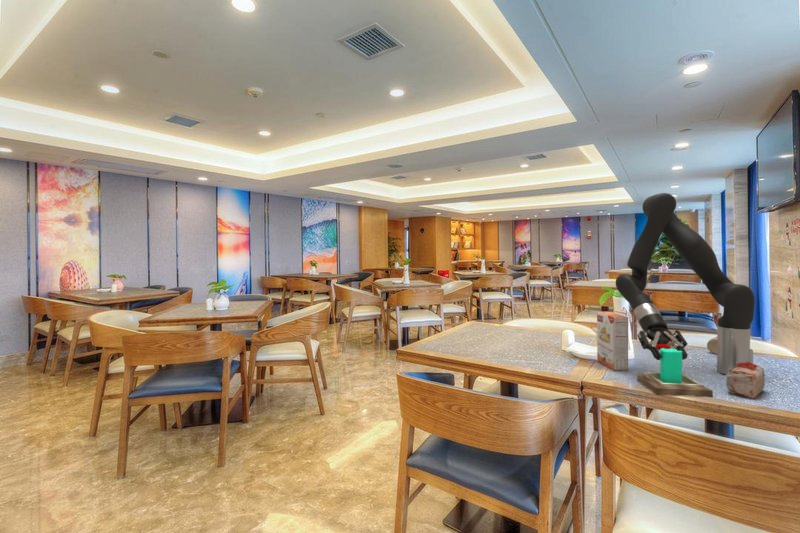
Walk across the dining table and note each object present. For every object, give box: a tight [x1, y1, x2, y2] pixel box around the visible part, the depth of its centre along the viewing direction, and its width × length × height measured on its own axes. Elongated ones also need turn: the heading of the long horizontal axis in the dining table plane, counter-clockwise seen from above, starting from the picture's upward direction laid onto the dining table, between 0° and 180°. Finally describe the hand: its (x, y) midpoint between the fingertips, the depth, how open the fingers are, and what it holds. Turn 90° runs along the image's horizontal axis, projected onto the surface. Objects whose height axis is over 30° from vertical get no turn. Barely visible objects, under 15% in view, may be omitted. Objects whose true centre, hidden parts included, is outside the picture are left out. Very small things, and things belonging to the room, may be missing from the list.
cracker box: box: [596, 311, 629, 372], centre depth 155 cm, size 14×6×21 cm, turn 177°
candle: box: [659, 348, 683, 384], centre depth 129 cm, size 6×6×12 cm
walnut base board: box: [636, 372, 714, 398], centre depth 129 cm, size 16×14×3 cm
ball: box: [656, 340, 673, 349], centre depth 182 cm, size 8×8×8 cm
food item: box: [726, 361, 766, 400], centre depth 124 cm, size 14×8×10 cm, turn 129°
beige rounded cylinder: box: [706, 336, 717, 355], centre depth 170 cm, size 11×8×8 cm
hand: (672, 358), depth 129 cm, fingers open, 8 cm apart
